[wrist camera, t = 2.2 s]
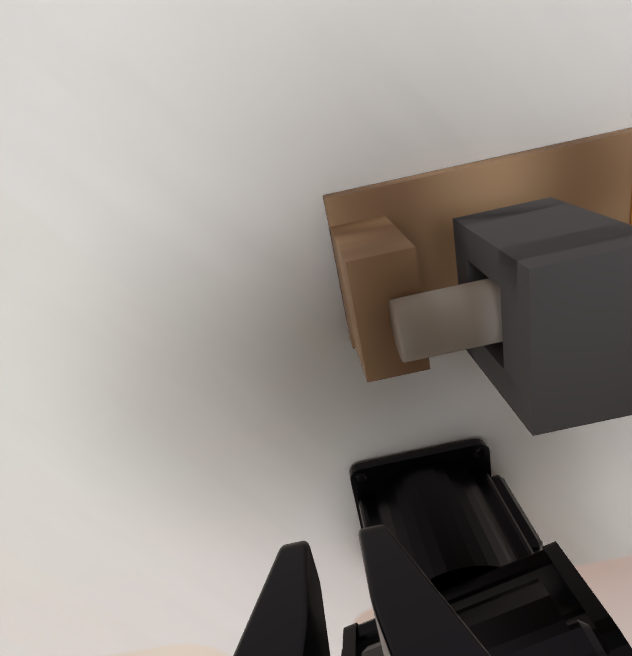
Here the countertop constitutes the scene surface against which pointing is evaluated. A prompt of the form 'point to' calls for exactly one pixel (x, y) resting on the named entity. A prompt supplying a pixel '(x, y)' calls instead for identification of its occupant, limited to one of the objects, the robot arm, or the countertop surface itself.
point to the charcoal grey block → (554, 310)
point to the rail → (452, 245)
